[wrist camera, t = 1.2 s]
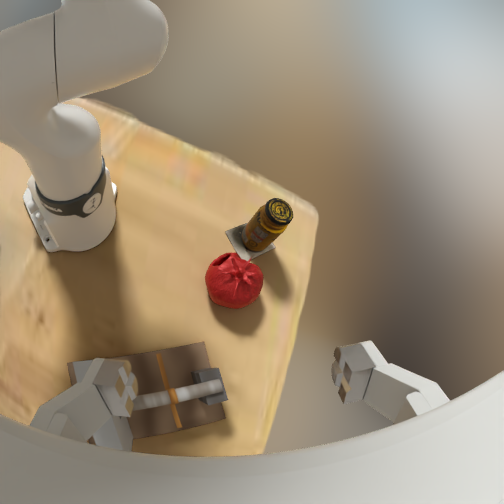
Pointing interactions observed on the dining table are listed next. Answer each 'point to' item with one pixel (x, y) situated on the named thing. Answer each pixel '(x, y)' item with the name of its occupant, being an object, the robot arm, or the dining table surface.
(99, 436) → the grey slab
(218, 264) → the pomegranate
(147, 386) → the pipe rig
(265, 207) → the condiment
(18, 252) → the dining table surface
